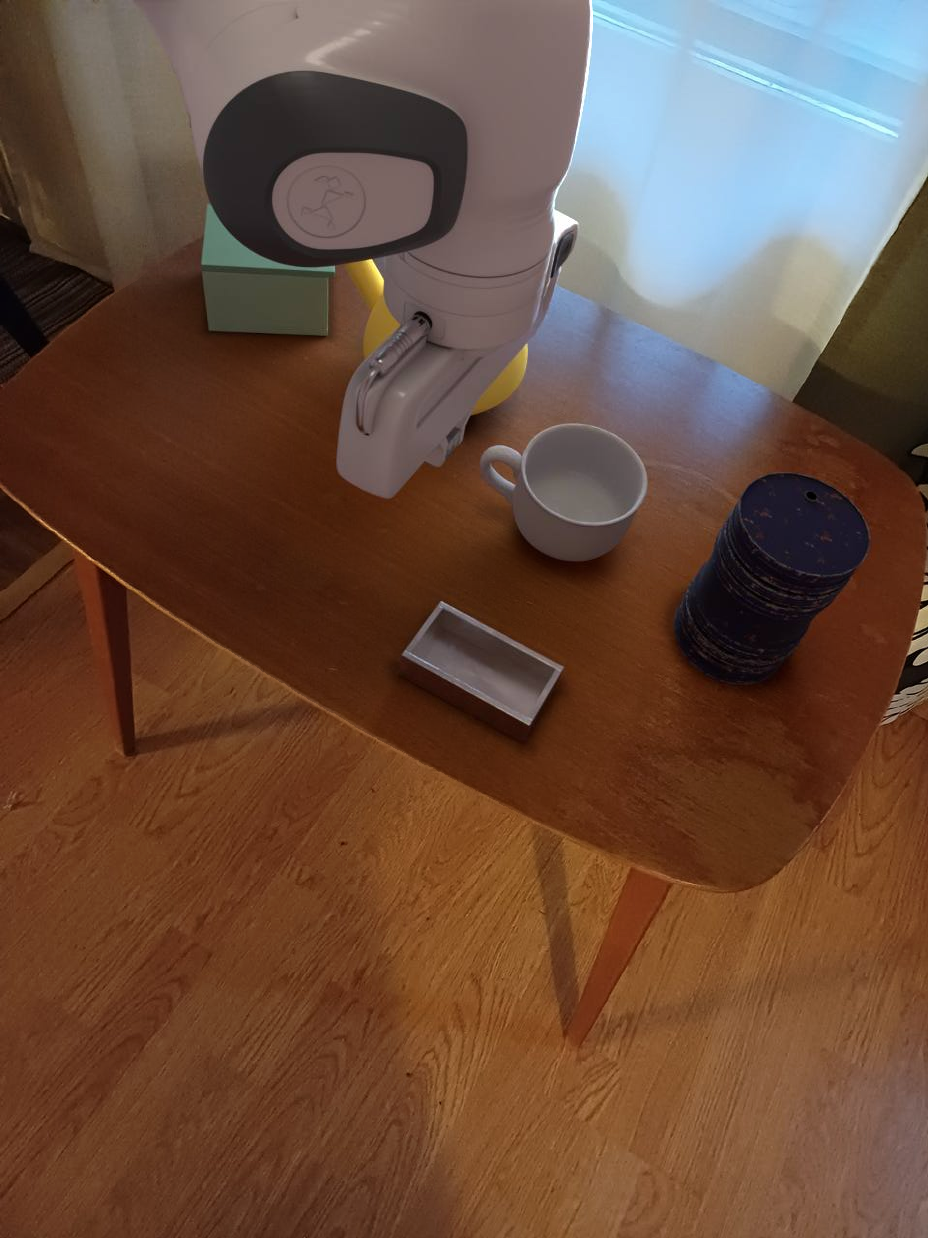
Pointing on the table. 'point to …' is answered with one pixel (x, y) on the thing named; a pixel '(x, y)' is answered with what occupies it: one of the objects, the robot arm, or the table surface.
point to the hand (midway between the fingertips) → (440, 450)
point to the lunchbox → (266, 303)
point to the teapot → (386, 324)
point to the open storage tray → (480, 671)
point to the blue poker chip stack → (769, 576)
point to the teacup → (571, 489)
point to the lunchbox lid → (244, 255)
